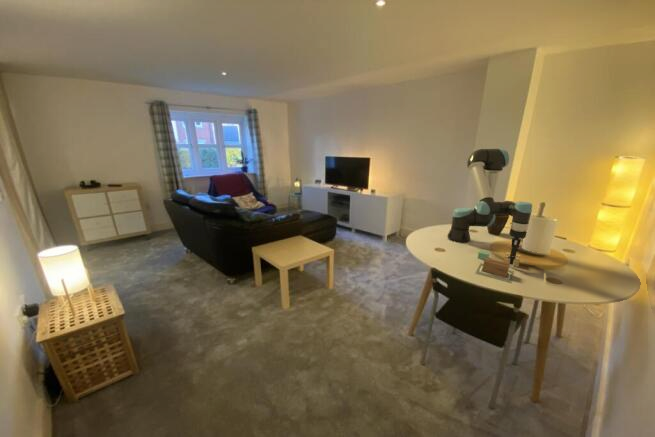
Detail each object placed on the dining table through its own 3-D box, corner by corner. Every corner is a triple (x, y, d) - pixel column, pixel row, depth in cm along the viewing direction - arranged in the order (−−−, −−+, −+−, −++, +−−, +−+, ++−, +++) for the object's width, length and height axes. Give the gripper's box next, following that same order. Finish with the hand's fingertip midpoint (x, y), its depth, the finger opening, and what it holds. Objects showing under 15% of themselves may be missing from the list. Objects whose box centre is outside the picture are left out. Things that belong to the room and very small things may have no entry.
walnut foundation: (483, 267, 143) (485, 257, 141) (507, 273, 136) (509, 263, 135) (482, 271, 139) (484, 261, 137) (506, 277, 132) (508, 267, 131)
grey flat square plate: (480, 265, 149) (480, 262, 149) (513, 273, 139) (514, 271, 139) (474, 275, 137) (475, 273, 137) (511, 285, 127) (511, 283, 127)
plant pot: (503, 232, 205) (507, 212, 200) (507, 238, 192) (511, 217, 187) (482, 229, 211) (485, 210, 206) (484, 235, 198) (487, 215, 193)
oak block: (504, 261, 154) (506, 252, 152) (518, 264, 149) (520, 255, 148) (502, 265, 148) (504, 256, 147) (517, 269, 144) (519, 259, 142)
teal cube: (478, 257, 159) (480, 250, 158) (488, 259, 156) (489, 252, 155) (477, 260, 155) (478, 252, 154) (486, 262, 152) (488, 254, 151)
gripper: (512, 223, 154) (505, 256, 160) (508, 234, 136) (500, 270, 142) (527, 225, 150) (520, 259, 156) (526, 237, 131) (517, 274, 137)
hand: (511, 264), depth 149 cm, fingers open, 12 cm apart
